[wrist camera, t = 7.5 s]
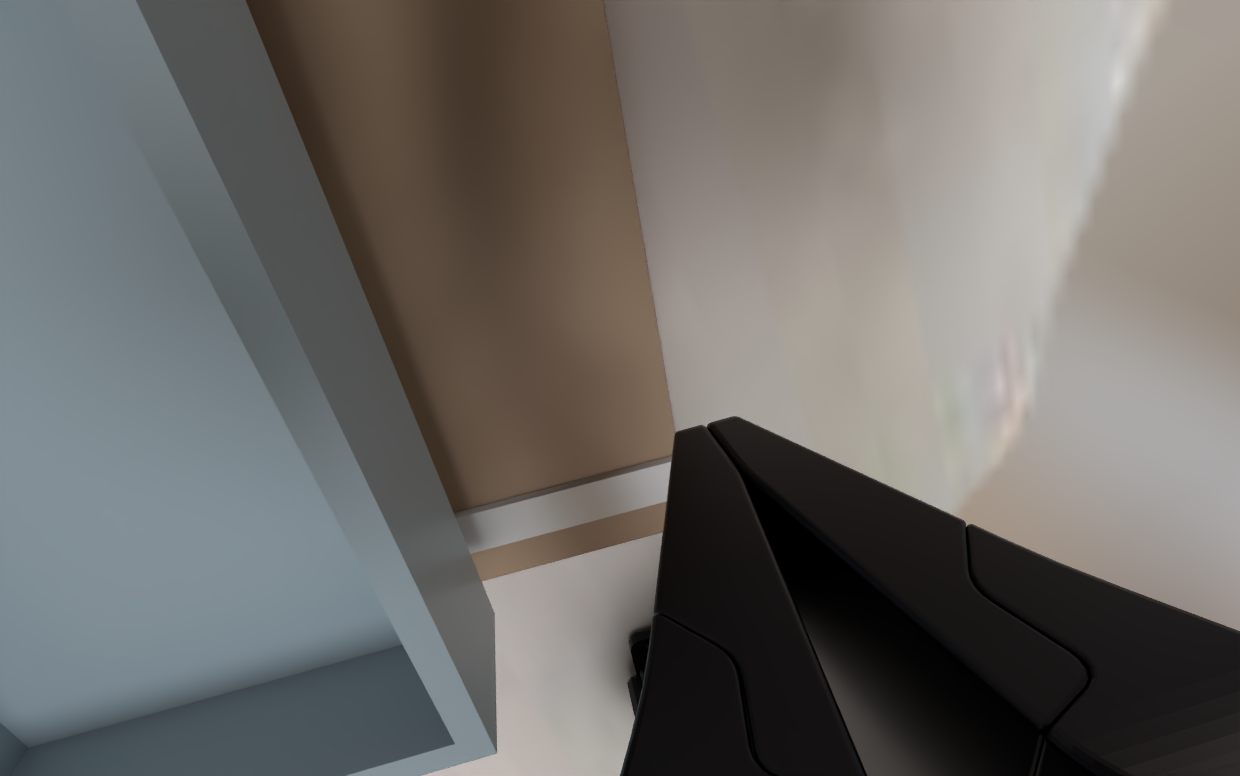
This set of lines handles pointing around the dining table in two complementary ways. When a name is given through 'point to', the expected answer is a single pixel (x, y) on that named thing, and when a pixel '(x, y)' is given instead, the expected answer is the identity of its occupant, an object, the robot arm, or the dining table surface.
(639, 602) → the dining table surface
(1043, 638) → the robot arm
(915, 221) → the dining table surface
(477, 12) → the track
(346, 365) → the box
